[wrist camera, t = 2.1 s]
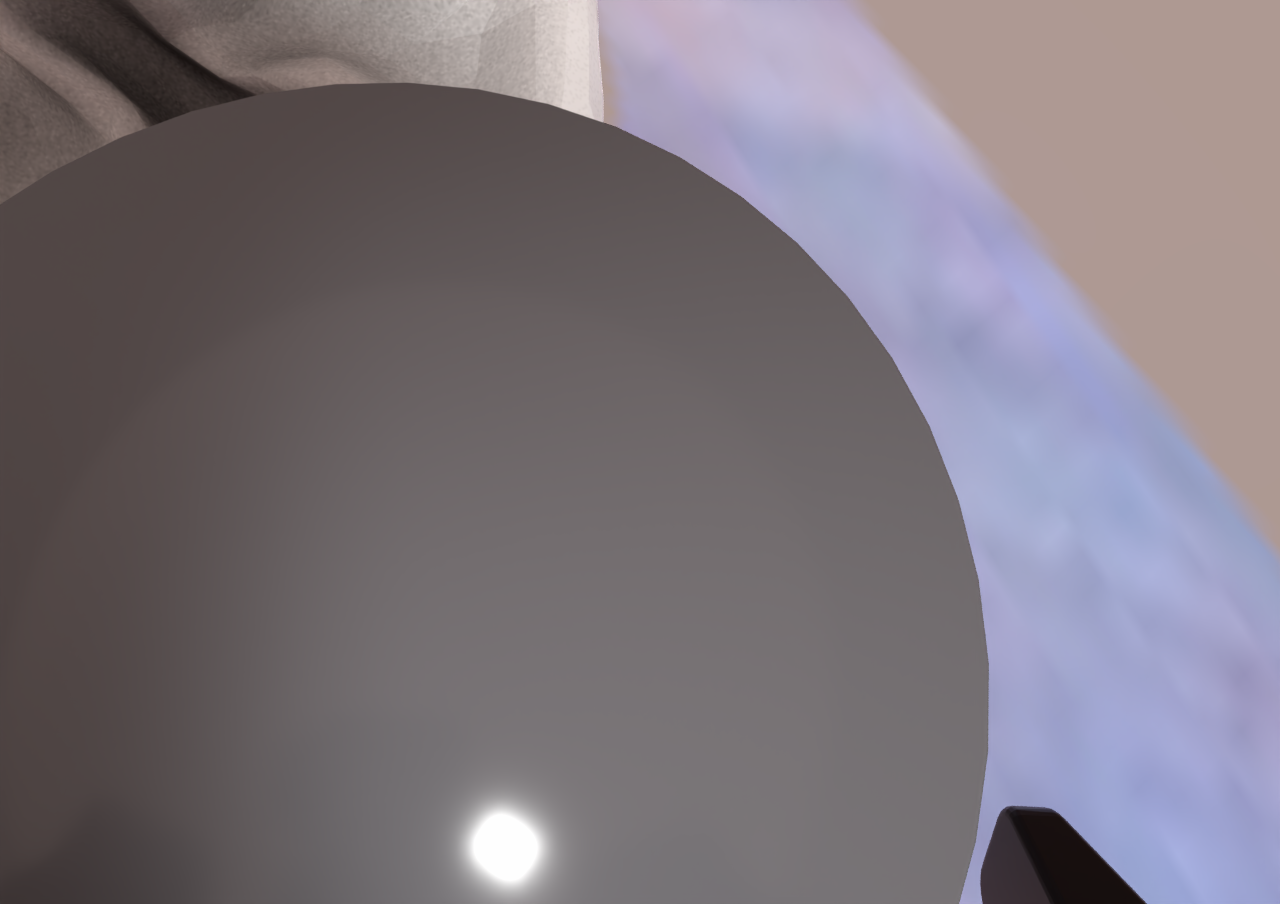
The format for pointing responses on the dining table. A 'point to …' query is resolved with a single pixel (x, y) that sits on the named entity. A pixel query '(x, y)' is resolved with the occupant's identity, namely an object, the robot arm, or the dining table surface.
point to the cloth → (264, 61)
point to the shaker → (462, 530)
